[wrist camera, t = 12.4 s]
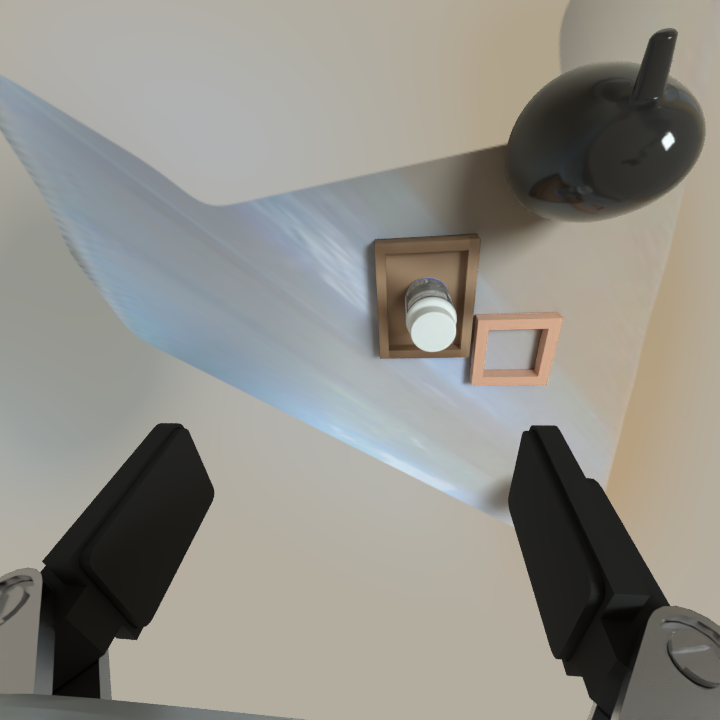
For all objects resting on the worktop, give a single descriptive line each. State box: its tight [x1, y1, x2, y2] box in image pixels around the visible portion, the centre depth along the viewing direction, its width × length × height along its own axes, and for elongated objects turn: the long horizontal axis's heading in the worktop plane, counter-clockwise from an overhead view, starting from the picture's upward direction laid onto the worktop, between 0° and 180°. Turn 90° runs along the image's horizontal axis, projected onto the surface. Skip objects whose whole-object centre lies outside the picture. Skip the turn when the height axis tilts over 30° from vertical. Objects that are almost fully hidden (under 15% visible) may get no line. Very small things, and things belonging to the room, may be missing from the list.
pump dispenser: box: [505, 28, 706, 223], centre depth 24 cm, size 10×10×15 cm
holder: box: [469, 312, 563, 385], centre depth 41 cm, size 9×9×2 cm
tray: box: [374, 234, 481, 359], centre depth 38 cm, size 13×10×2 cm
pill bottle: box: [405, 277, 457, 352], centre depth 35 cm, size 5×5×8 cm
